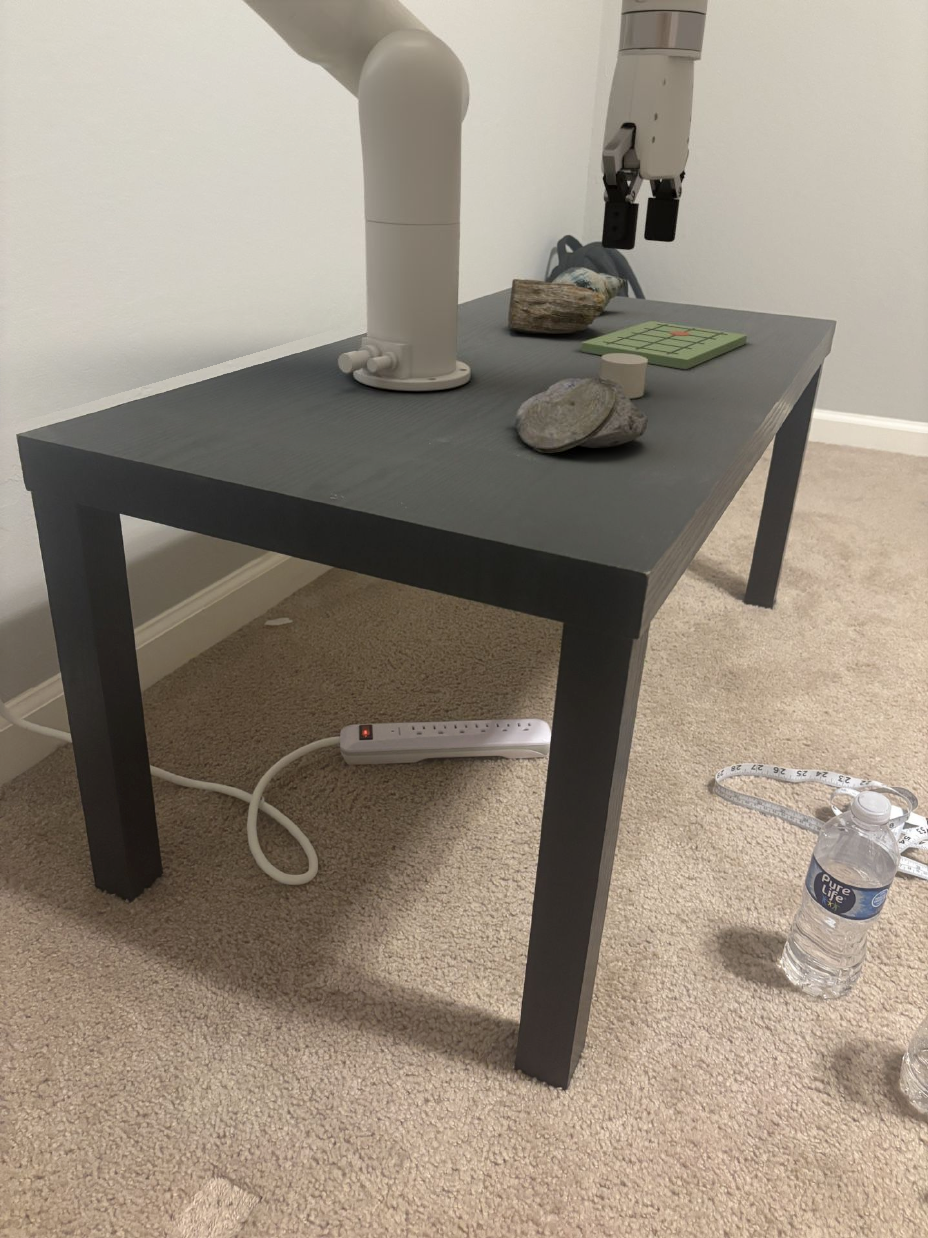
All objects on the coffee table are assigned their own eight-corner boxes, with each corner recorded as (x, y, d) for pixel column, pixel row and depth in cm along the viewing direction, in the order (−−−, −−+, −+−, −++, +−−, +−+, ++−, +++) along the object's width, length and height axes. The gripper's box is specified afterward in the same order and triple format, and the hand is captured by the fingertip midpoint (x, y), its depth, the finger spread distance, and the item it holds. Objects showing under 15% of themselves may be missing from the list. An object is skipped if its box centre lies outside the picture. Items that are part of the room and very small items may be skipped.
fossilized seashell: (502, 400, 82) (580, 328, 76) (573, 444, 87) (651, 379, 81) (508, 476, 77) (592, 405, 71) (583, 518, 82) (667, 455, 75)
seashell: (546, 316, 142) (620, 323, 138) (532, 301, 135) (610, 308, 131) (553, 275, 141) (628, 280, 137) (540, 258, 134) (619, 263, 130)
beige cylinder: (631, 401, 92) (635, 365, 90) (589, 393, 94) (593, 358, 93) (651, 392, 95) (655, 357, 94) (610, 384, 98) (614, 350, 96)
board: (686, 369, 105) (687, 358, 105) (580, 351, 112) (581, 341, 112) (745, 343, 120) (747, 334, 119) (649, 329, 127) (650, 319, 126)
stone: (608, 299, 127) (606, 248, 118) (605, 361, 124) (603, 313, 114) (513, 302, 130) (504, 253, 120) (508, 363, 126) (498, 317, 117)
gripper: (660, 49, 90) (640, 235, 98) (578, 32, 77) (564, 248, 85) (733, 47, 86) (706, 240, 94) (661, 29, 73) (637, 255, 81)
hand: (639, 244), depth 90 cm, fingers open, 9 cm apart
